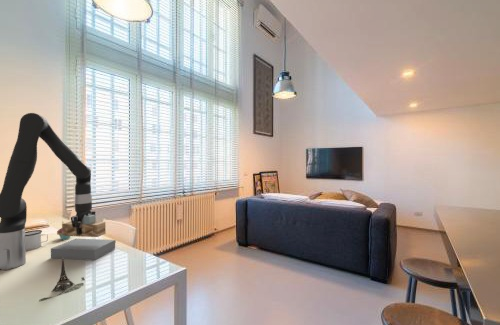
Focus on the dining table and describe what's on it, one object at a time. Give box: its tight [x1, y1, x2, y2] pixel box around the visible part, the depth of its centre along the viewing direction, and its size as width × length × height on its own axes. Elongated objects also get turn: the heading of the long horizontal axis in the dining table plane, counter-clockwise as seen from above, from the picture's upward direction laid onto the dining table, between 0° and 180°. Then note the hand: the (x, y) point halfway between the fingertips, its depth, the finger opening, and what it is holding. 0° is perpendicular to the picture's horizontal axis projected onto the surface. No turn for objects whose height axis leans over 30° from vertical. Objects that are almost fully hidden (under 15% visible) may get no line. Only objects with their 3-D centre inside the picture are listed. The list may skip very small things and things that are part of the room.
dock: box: [50, 238, 117, 261], centre depth 126 cm, size 16×25×5 cm, turn 84°
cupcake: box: [56, 220, 71, 240], centre depth 150 cm, size 9×8×12 cm
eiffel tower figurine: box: [38, 258, 86, 303], centre depth 91 cm, size 15×10×13 cm
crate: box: [83, 214, 97, 224], centre depth 125 cm, size 4×4×4 cm
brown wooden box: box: [61, 220, 107, 238], centre depth 125 cm, size 21×6×6 cm, turn 83°
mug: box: [25, 229, 49, 251], centre depth 135 cm, size 12×10×9 cm
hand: (84, 232), depth 125 cm, fingers closed on brown wooden box, 5 cm apart
